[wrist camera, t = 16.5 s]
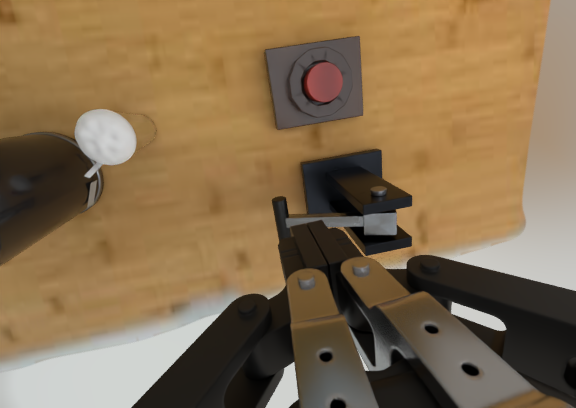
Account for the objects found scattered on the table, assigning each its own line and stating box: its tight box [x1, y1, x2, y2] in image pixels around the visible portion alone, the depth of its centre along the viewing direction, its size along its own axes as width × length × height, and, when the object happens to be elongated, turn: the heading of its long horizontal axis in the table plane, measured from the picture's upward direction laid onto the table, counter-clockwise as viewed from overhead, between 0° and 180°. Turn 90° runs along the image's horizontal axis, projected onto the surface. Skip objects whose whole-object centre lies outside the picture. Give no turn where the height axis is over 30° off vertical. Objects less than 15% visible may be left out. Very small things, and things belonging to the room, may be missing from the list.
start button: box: [304, 62, 343, 102], centre depth 28 cm, size 4×4×2 cm
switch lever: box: [272, 196, 397, 242], centre depth 27 cm, size 12×5×2 cm, turn 98°
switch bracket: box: [301, 149, 412, 256], centre depth 30 cm, size 10×8×13 cm
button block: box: [264, 36, 363, 130], centre depth 30 cm, size 10×8×4 cm
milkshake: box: [74, 109, 157, 178], centre depth 26 cm, size 4×5×10 cm
